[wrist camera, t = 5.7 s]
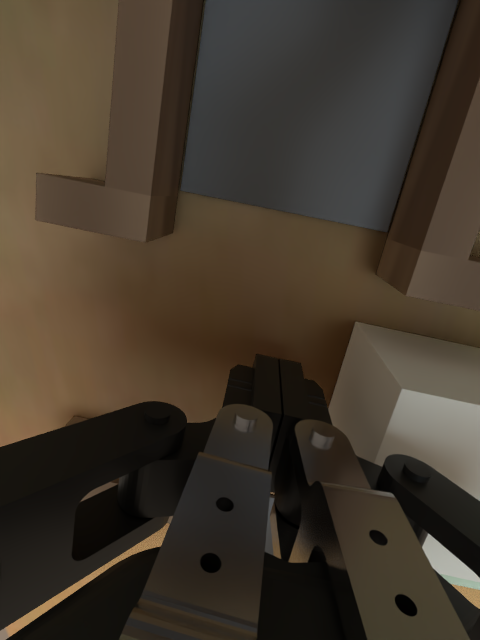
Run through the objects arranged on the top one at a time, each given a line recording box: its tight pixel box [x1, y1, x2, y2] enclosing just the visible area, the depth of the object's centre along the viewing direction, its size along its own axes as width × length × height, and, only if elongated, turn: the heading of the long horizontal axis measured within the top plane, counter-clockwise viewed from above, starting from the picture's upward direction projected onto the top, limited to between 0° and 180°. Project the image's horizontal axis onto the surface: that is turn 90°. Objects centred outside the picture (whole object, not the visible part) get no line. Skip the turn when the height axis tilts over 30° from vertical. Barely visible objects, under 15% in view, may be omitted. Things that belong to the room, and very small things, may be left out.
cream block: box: [328, 322, 480, 582], centre depth 12 cm, size 5×5×5 cm
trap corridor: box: [35, 0, 480, 590], centre depth 12 cm, size 25×23×3 cm
